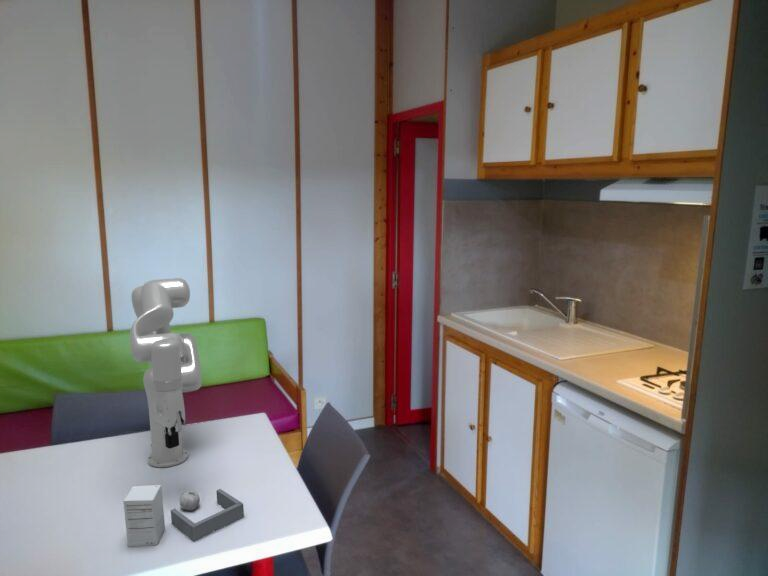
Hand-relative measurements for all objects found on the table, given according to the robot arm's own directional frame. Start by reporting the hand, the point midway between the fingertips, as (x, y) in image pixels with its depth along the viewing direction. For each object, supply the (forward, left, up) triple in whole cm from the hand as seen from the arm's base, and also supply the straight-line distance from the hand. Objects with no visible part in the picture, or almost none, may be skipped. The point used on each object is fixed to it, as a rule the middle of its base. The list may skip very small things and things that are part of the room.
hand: (172, 446), depth 164 cm
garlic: (+8, 0, -16) cm, 18 cm away
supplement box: (+12, -14, -16) cm, 25 cm away
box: (+17, 0, -16) cm, 23 cm away
